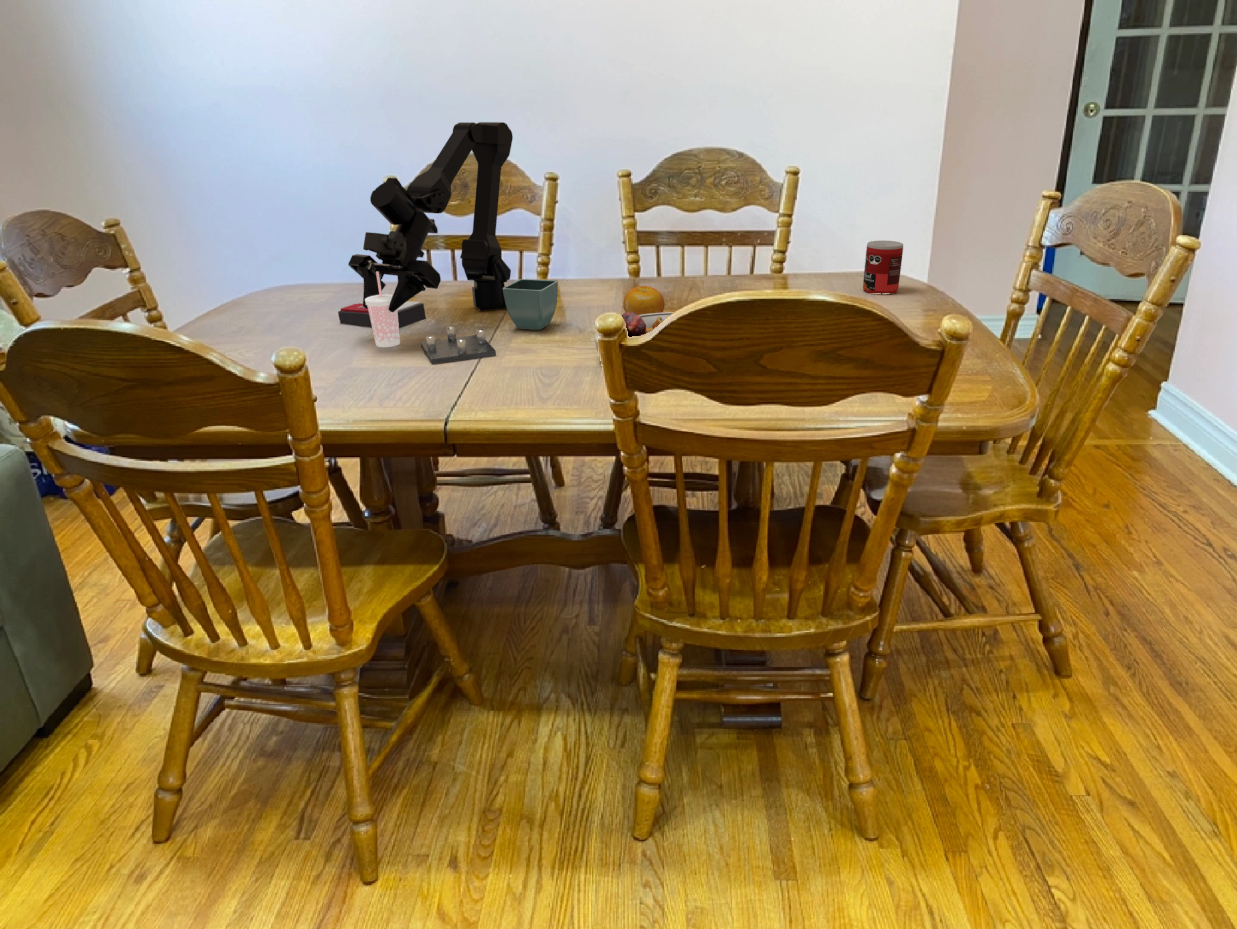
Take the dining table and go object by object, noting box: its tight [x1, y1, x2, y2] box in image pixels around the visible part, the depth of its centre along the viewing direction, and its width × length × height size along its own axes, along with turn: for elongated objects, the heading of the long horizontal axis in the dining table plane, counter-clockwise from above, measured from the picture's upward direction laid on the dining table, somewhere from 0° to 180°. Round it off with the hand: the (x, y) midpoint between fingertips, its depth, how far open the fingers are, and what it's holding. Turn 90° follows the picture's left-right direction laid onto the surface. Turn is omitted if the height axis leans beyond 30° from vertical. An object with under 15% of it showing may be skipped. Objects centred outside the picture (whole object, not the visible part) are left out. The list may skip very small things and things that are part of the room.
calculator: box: [338, 300, 427, 329], centre depth 183 cm, size 11×4×15 cm
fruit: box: [622, 285, 666, 315], centre depth 178 cm, size 8×8×8 cm
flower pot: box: [503, 278, 559, 331], centre depth 174 cm, size 9×9×9 cm
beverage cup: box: [365, 271, 401, 348], centre depth 161 cm, size 6×6×14 cm
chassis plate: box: [419, 325, 497, 365], centre depth 161 cm, size 12×12×4 cm
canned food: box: [862, 240, 904, 294], centre depth 194 cm, size 8×8×11 cm
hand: (377, 309), depth 160 cm, fingers closed on beverage cup, 6 cm apart
